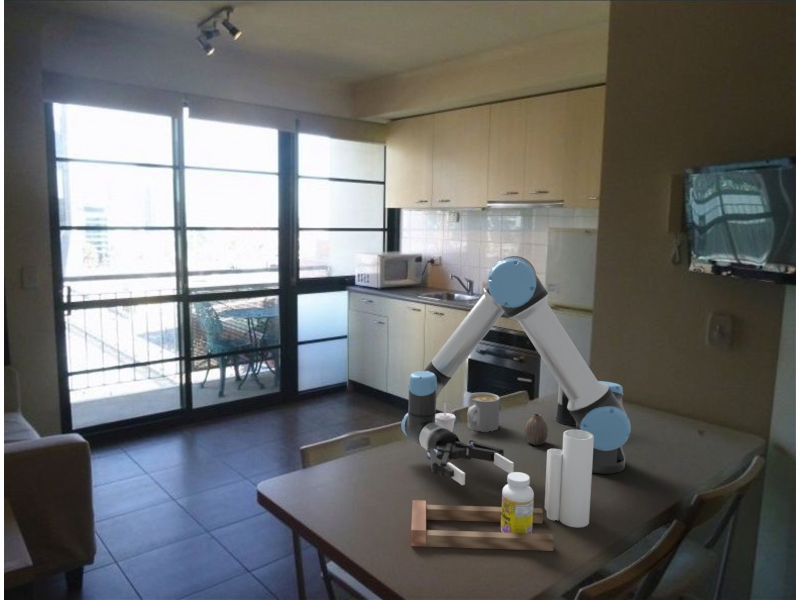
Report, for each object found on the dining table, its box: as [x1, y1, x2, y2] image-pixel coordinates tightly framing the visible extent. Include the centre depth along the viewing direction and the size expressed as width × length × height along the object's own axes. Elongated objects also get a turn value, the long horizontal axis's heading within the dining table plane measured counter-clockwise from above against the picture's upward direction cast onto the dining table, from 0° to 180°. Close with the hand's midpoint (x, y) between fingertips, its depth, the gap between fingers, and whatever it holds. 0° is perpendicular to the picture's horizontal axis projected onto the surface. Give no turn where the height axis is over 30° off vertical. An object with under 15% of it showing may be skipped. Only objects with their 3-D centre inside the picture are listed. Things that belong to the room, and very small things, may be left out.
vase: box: [524, 413, 549, 446], centre depth 178 cm, size 7×7×9 cm
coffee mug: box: [466, 392, 500, 433], centre depth 190 cm, size 13×10×10 cm
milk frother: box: [555, 384, 576, 426], centre depth 195 cm, size 14×16×15 cm
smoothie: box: [435, 400, 457, 433], centre depth 173 cm, size 6×6×14 cm
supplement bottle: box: [500, 471, 535, 534], centre depth 126 cm, size 7×7×13 cm
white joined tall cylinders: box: [544, 429, 594, 528], centre depth 133 cm, size 11×7×20 cm, turn 43°
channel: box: [410, 499, 555, 552], centre depth 127 cm, size 29×13×4 cm, turn 88°
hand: (488, 473), depth 134 cm, fingers open, 13 cm apart
